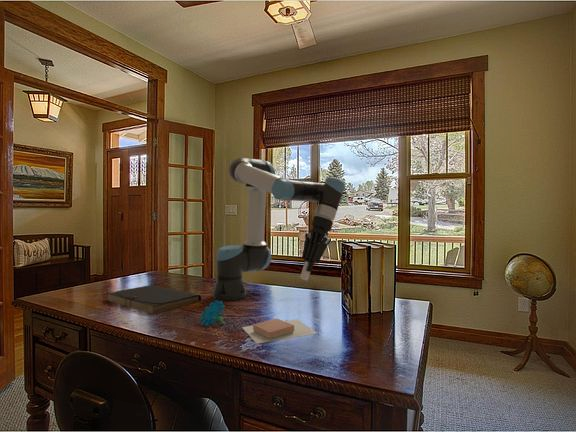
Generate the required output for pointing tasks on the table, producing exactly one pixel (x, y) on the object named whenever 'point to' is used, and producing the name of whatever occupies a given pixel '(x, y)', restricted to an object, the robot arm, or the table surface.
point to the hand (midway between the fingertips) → (303, 279)
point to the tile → (273, 328)
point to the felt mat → (299, 330)
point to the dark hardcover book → (152, 298)
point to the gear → (212, 314)
